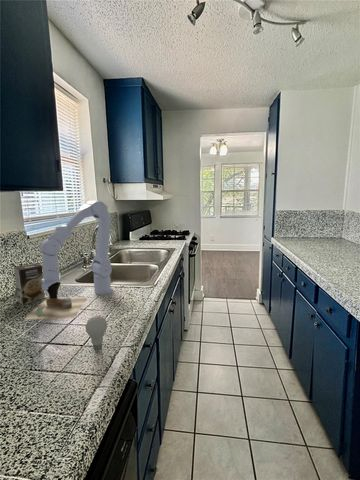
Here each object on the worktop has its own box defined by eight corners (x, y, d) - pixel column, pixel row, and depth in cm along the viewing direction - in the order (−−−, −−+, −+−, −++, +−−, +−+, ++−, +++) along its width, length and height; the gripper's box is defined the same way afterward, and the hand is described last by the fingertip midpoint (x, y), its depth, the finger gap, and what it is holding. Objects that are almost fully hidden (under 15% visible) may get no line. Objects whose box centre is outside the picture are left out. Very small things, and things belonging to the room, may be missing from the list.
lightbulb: (100, 342, 81) (99, 310, 79) (112, 349, 77) (110, 316, 75) (83, 351, 76) (81, 317, 74) (94, 359, 72) (92, 324, 70)
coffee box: (23, 307, 105) (19, 270, 103) (17, 303, 109) (13, 267, 107) (45, 300, 113) (42, 265, 110) (38, 296, 116) (35, 262, 114)
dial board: (47, 300, 113) (46, 297, 113) (88, 298, 114) (88, 296, 114) (24, 321, 93) (23, 318, 93) (74, 320, 95) (74, 317, 95)
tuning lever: (73, 304, 105) (72, 297, 105) (68, 308, 102) (68, 301, 101) (47, 303, 107) (47, 296, 106) (42, 306, 103) (41, 299, 103)
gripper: (48, 264, 110) (50, 293, 112) (32, 274, 96) (35, 307, 98) (65, 263, 111) (67, 293, 113) (51, 274, 96) (54, 307, 99)
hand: (53, 300), depth 106 cm, fingers closed, pressing on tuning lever
